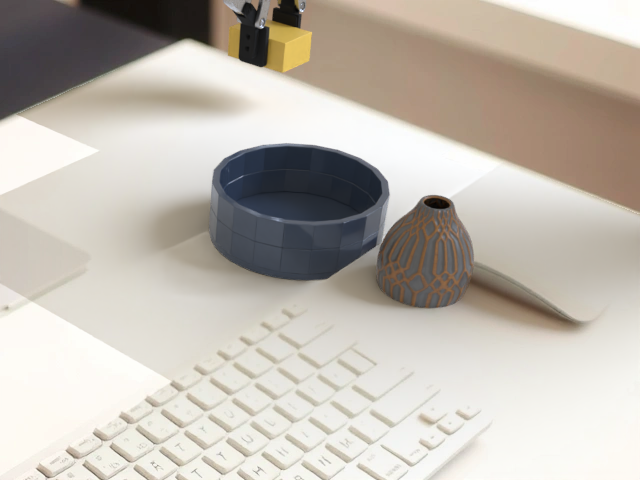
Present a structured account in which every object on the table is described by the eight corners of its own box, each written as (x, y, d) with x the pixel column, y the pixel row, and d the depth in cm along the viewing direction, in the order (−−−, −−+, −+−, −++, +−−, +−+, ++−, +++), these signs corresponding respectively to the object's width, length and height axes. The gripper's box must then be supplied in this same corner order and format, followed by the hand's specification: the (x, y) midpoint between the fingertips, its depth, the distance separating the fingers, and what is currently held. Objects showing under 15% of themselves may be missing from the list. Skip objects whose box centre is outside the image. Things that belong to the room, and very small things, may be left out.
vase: (426, 341, 78) (449, 236, 73) (352, 301, 82) (368, 199, 77) (481, 307, 82) (506, 204, 77) (407, 270, 86) (426, 171, 81)
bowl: (277, 179, 99) (282, 128, 96) (412, 234, 91) (422, 180, 88) (174, 235, 90) (176, 181, 87) (313, 301, 82) (321, 244, 79)
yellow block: (254, 44, 113) (256, 15, 111) (309, 61, 109) (312, 31, 107) (227, 55, 110) (229, 26, 109) (282, 73, 106) (285, 43, 105)
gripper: (258, -115, 92) (245, 89, 103) (369, -146, 102) (346, 44, 113) (191, -128, 96) (185, 69, 107) (304, -157, 106) (288, 27, 117)
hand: (268, 54), depth 110 cm, fingers closed on yellow block, 4 cm apart
